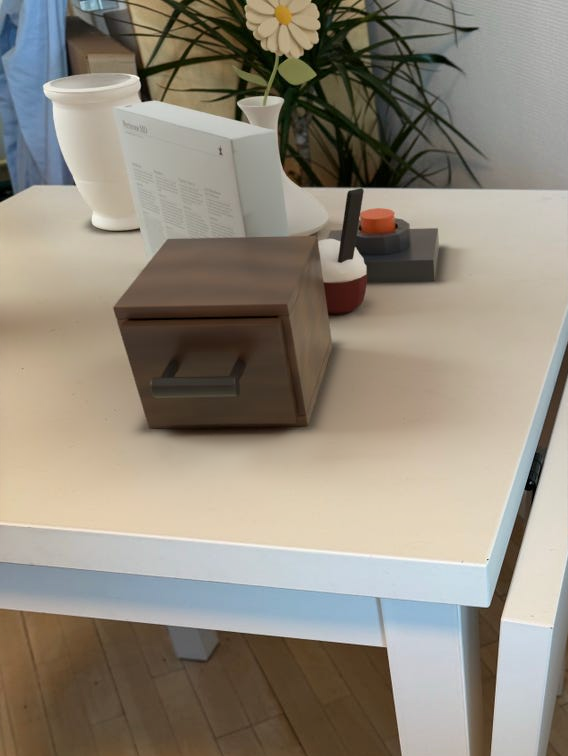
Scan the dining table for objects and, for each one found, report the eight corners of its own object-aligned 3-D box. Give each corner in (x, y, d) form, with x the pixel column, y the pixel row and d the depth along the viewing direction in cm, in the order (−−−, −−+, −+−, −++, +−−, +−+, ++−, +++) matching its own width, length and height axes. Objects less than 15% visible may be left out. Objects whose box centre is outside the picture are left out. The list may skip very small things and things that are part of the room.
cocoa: (301, 296, 92) (281, 168, 84) (361, 288, 93) (347, 160, 85) (316, 333, 85) (296, 196, 77) (381, 323, 86) (368, 188, 78)
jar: (187, 210, 114) (156, 72, 104) (146, 237, 107) (109, 91, 97) (111, 206, 116) (74, 70, 106) (66, 232, 109) (22, 89, 99)
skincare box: (305, 307, 90) (278, 128, 79) (260, 324, 87) (225, 140, 76) (191, 258, 101) (154, 96, 90) (148, 272, 98) (104, 105, 88)
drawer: (286, 451, 67) (267, 349, 62) (131, 454, 67) (99, 352, 62) (320, 348, 80) (307, 257, 75) (191, 350, 81) (169, 260, 75)
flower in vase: (234, 256, 101) (180, -18, 85) (231, 224, 110) (181, -31, 93) (350, 244, 103) (319, -26, 87) (338, 214, 112) (308, -38, 95)
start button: (359, 237, 94) (357, 219, 93) (363, 225, 97) (361, 208, 96) (394, 236, 94) (392, 218, 93) (396, 225, 97) (395, 207, 96)
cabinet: (307, 426, 72) (287, 303, 65) (148, 428, 72) (112, 307, 66) (332, 346, 83) (317, 235, 76) (194, 349, 83) (167, 238, 77)
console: (320, 283, 94) (314, 244, 92) (333, 250, 102) (328, 213, 99) (434, 281, 94) (432, 241, 92) (439, 248, 102) (437, 210, 99)
